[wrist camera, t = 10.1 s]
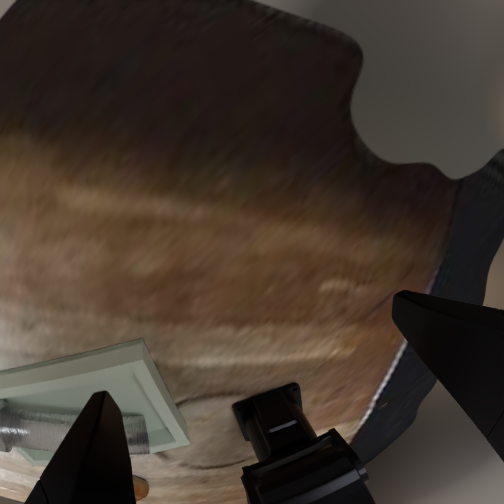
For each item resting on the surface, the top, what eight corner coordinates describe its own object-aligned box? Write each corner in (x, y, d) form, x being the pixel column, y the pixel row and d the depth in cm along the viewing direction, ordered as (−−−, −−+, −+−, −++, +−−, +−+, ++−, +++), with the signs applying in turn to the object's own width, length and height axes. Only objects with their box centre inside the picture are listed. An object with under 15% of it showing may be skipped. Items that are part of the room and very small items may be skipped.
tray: (186, 424, 26) (190, 444, 24) (36, 448, 22) (33, 466, 20) (142, 338, 22) (142, 359, 19) (-26, 375, 18) (-34, 393, 16)
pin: (153, 471, 20) (-4, 460, 14) (145, 443, 24) (8, 435, 18) (147, 424, 20) (-19, 410, 14) (141, 400, 25) (-2, 390, 19)
